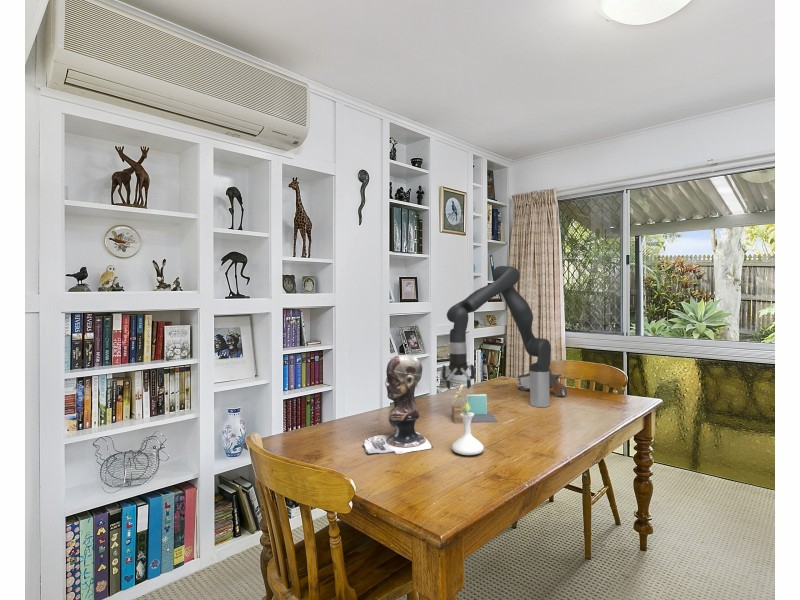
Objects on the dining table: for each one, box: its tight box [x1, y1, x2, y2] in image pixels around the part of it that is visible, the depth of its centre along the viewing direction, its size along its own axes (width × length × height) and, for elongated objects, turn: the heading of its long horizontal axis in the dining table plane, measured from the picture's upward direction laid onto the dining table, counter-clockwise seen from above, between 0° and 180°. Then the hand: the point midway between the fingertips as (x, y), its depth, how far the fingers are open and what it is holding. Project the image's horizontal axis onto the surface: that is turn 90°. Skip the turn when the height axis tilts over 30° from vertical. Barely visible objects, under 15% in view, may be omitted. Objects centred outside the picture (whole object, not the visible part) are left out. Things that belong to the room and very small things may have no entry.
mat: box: [471, 411, 498, 424], centre depth 203 cm, size 14×14×1 cm
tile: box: [466, 393, 488, 415], centre depth 207 cm, size 2×9×9 cm, turn 90°
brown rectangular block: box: [451, 403, 464, 425], centre depth 200 cm, size 10×4×6 cm, turn 0°
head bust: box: [362, 354, 434, 456], centre depth 171 cm, size 22×25×35 cm
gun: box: [516, 368, 568, 398], centre depth 247 cm, size 5×27×15 cm, turn 40°
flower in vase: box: [451, 384, 485, 456], centre depth 160 cm, size 13×11×25 cm
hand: (458, 388), depth 198 cm, fingers open, 8 cm apart
